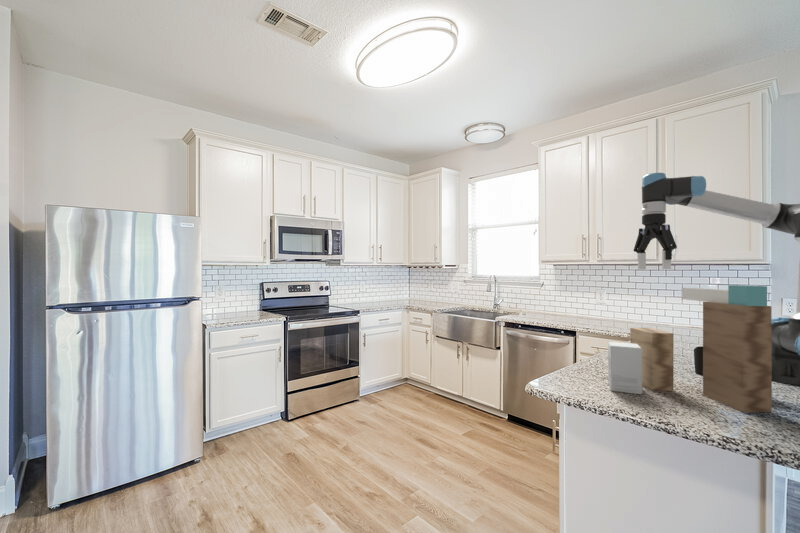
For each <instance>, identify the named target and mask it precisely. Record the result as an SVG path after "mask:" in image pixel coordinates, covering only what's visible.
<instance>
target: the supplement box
mask: <svg viewBox="0 0 800 533" xmlns="http://www.w3.org/2000/svg"><path fill="white" fill-rule="evenodd" d="M607 344H608V346H607V351H608V352H607V354H608V355H607V356H608V357H607V358H608V360H607V362H608V363H607V364H608V367H607V368H608V372H607V374H608V375H607V376H608V379H607V380H608V386H609V389H610V391H611V392H616V393H617V392H620V393H627V394H637V395H643V386H642V348H641V347H640V346H639V345H638V344H633V343H630V342H617V341H607Z"/></svg>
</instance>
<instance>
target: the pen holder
mask: <svg viewBox="0 0 800 533" xmlns="http://www.w3.org/2000/svg"><path fill="white" fill-rule="evenodd" d="M693 359H694V360H693V362H694V363H693V364H694V372H695V373H696V374H697V375H699V376H703V345H702V346H701V345H700V346H696V347H695V348H693Z"/></svg>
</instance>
